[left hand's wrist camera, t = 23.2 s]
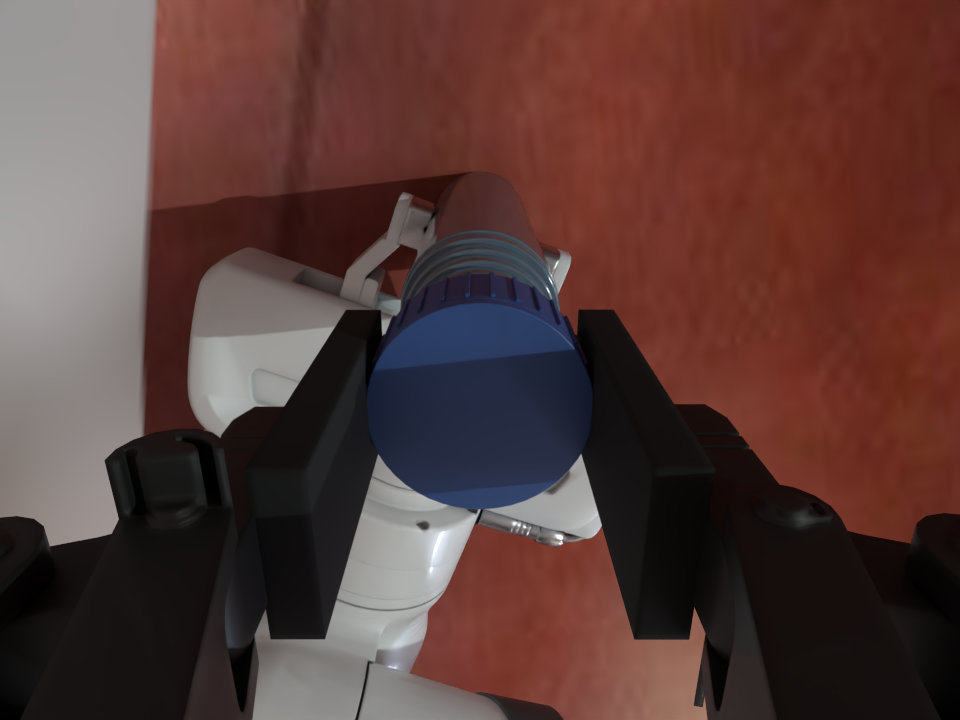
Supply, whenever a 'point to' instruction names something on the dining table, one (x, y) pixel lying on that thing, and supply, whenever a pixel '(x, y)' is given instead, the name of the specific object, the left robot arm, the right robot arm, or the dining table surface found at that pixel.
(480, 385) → the cap
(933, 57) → the dining table surface
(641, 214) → the dining table surface
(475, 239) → the bottle
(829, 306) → the dining table surface
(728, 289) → the dining table surface
